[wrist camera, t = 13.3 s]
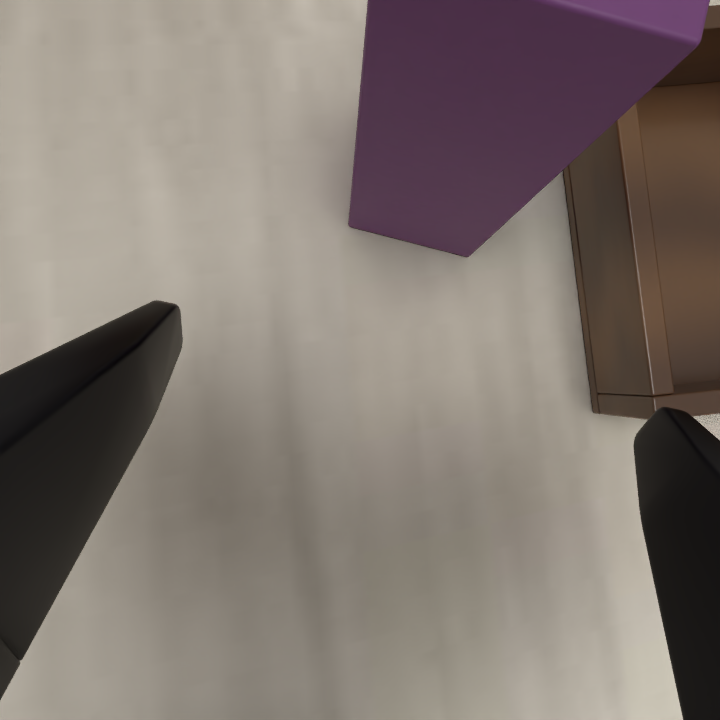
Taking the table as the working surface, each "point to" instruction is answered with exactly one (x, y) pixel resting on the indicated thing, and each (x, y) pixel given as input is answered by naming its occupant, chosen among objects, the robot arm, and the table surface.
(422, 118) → the block
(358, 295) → the table surface
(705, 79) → the wooden tray
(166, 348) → the robot arm
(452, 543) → the table surface
